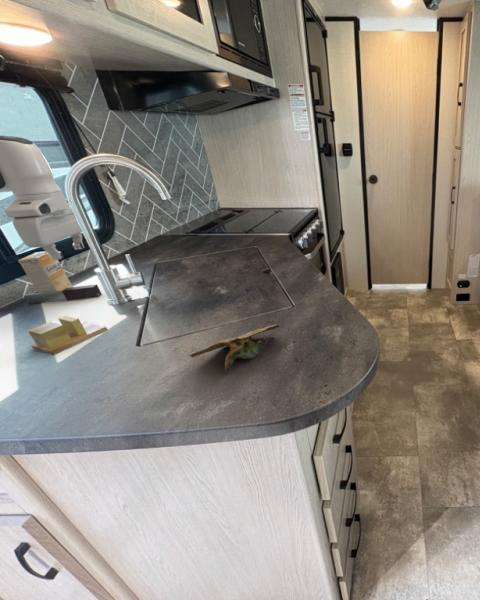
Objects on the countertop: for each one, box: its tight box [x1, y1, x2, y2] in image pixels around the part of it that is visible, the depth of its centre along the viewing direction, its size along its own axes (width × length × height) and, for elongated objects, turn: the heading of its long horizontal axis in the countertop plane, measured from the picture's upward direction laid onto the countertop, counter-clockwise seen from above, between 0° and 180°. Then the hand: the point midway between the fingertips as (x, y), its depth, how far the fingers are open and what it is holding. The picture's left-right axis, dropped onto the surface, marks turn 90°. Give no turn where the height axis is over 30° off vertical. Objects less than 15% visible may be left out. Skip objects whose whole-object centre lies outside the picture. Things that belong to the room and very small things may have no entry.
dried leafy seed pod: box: [188, 324, 280, 375], centre depth 67 cm, size 18×14×8 cm
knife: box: [23, 284, 102, 305], centre depth 96 cm, size 18×2×3 cm, turn 106°
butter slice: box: [58, 315, 86, 336], centre depth 76 cm, size 5×2×4 cm, turn 71°
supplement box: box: [18, 250, 73, 293], centre depth 97 cm, size 8×5×13 cm, turn 22°
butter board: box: [27, 321, 108, 356], centre depth 75 cm, size 8×11×5 cm
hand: (70, 253), depth 90 cm, fingers open, 8 cm apart
